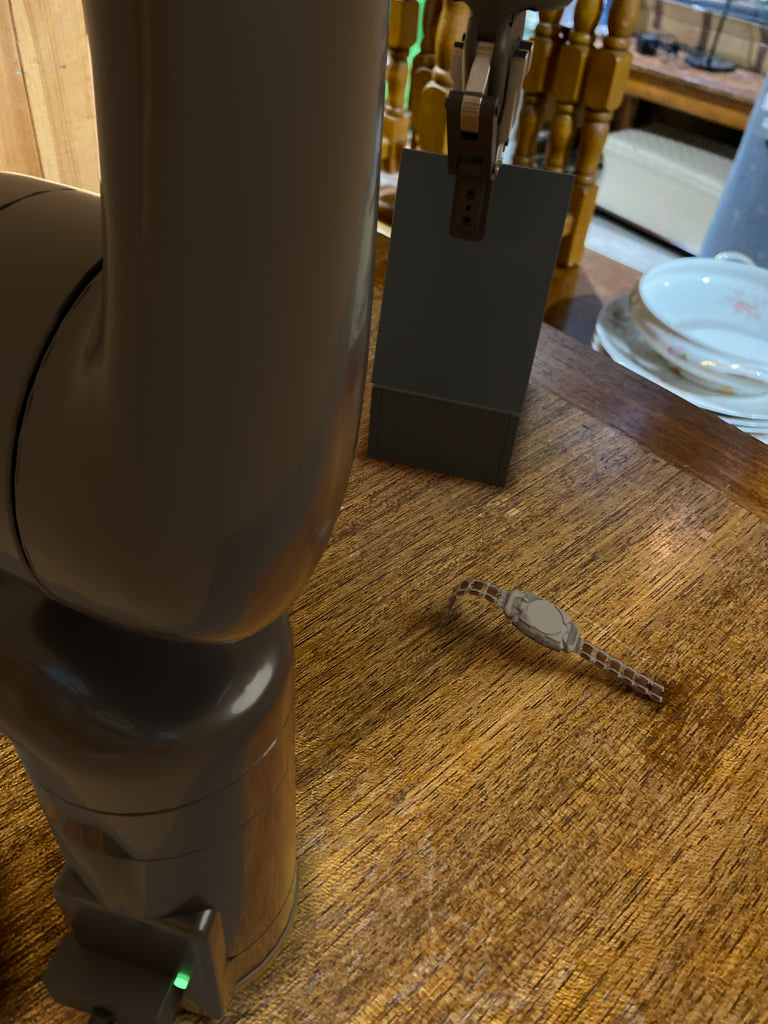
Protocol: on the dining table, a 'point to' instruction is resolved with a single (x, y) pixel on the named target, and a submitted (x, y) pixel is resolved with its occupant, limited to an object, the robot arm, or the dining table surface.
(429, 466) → the chest
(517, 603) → the wristwatch
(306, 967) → the dining table surface
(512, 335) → the lid
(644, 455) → the dining table surface
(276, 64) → the robot arm
